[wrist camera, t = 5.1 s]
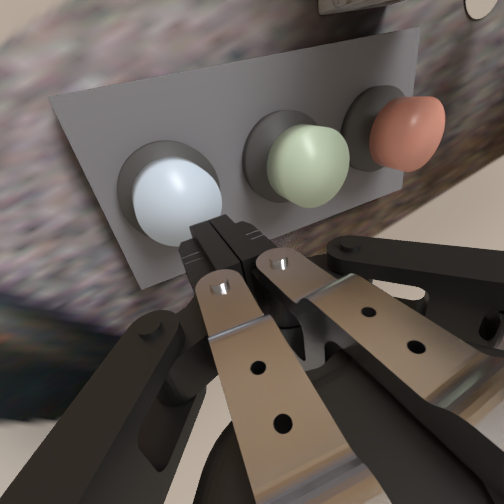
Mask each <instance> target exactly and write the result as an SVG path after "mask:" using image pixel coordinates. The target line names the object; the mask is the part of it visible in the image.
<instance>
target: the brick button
mask: <svg viewBox="0 0 504 504" xmlns="http://www.w3.org/2000/svg"><path fill="white" fill-rule="evenodd" d="M444 127H445V112H444V108H443V105H442V103H441V102H440V101H439V100H438V99H437V98H435V97H397V98H394V99H393V100H391V101H390V102H388V103H387V104H386V105H385V106H384V107H383V108H382V109H381V111H380V112H379V113H378V115H377V117H376V119H375V121H374V123H373V126H372V129H371V132H370V139H369V148H370V153H371V156H372V158H373V160H374V161H375V162H376V163H377V164H378V165H380V166H384V167H388V168H392V169H396V170H400V171H404V172H412V171H415V170H417V169H419V168H421V167H422V166H423V165H425V164H426V163H427V162H428V161H429V159H430V158H431V157H432V156H433V154H434V153H435V151H436V149H437V148H438V146H439V143H440V141H441V139H442V135H443V132H444Z"/></svg>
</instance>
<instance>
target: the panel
mask: <svg viewBox="0 0 504 504" xmlns="http://www.w3.org/2000/svg"><path fill="white" fill-rule="evenodd" d="M420 31H421V26H420V27H415V28H409V29H404V30H399V31H394V32H388V33H383V34H378V35H372V36H367V37H362V38H357V39H351V40H346V41H341V42H336V43H330V44H325V45H320V46H315V47H309V48H304V49H299V50H293V51H288V52H283V53H278V54H272V55H267V56H262V57H257V58H251V59H246V60H241V61H235V62H230V63H225V64H220V65H214V66H209V67H204V68H199V69H193V70H188V71H183V72H178V73H172V74H167V75H162V76H156V77H151V78H146V79H141V80H135V81H130V82H125V83H120V84H114V85H109V86H104V87H99V88H93V89H88V90H83V91H77V92H72V93H67V94H62V95H56V96H51V97H48V99H49V101H50V103H51V105H52V108H53V110H54V112H55V114H56V116H57V118H58V120H59V122H60V124H61V126H62V128H63V130H64V132H65V134H66V136H67V138H68V140H69V142H70V144H71V147H72V149H73V151H74V153H75V155H76V157H77V159H78V161H79V163H80V165H81V167H82V169H83V171H84V173H85V175H86V177H87V179H88V181H89V183H90V186H91V188H92V190H93V192H94V194H95V196H96V198H97V200H98V202H99V204H100V206H101V208H102V210H103V212H104V214H105V216H106V218H107V220H108V222H109V225H110V227H111V229H112V231H113V233H114V235H115V237H116V239H117V241H118V243H119V245H120V247H121V249H122V251H123V253H124V255H125V257H126V259H127V261H128V264H129V266H130V268H131V270H132V272H133V274H134V276H135V278H136V280H137V282H138V284H139V286H140V288H141V290H143V289H146V288H148V287H151V286H153V285H156V284H158V283H161V282H164V281H166V280H169V279H171V278H174V277H176V276H179V275H182V274H184V273H186V271H185V268H184V265H183V263H182V260H181V257H180V254H179V252H178V249H179V247H176V246H168V245H164V244H161V243H159V242H157V241H155V240H153V239H152V238H150V237H149V236H148V235H147V234H146V233H145V232H144V231H143V229H142V228H141V226H140V225H139V223H138V220H137V217H136V214H135V210H134V207H133V203H132V187H133V183H134V180H135V178H136V176H137V175H138V173H139V172H140V171H141V169H142V168H143V167H144V166H146V165H147V164H148V163H150V162H151V161H153V160H155V159H158V158H162V157H168V156H175V157H181V158H185V159H187V160H189V161H191V162H193V163H195V164H196V165H197V166H199V167H200V168H202V169H203V170H204V171H206V172H207V173H208V174H209V175H210V176H211V177H212V178H213V179H214V180H215V182H216V184H217V185H218V187H219V190H220V193H221V197H222V210H221V215H224V214H226V215H227V216H228V217H229V218H230V219H231V220H232V221H233V222H234V223H237V222H240V221H244V222H247V223H250V224H252V225H253V226H255V227H256V228H257V229H258V231H260V232H261V233H262V234H263V235H265V236H266V237H267V238H268V239H269V240H271V239H274V238H277V237H279V236H282V235H284V234H287V233H289V232H292V231H295V230H297V229H300V228H302V227H305V226H307V225H310V224H313V223H315V222H318V221H320V220H323V219H325V218H328V217H331V216H333V215H336V214H338V213H341V212H343V211H346V210H349V209H351V208H354V207H356V206H359V205H361V204H364V203H366V202H369V201H372V200H374V199H377V198H379V197H382V196H384V195H387V194H390V193H392V192H395V191H397V190H400V189H402V183H403V174H404V171H400V170H396V169H392V168H388V167H384V166H380V165H378V164H377V163H376V162H375V161H374V160H373V158H372V156H371V153H370V148H369V139H370V132H371V129H372V126H373V123H374V121H375V119H376V117H377V115H378V113H379V112H380V111H381V109H382V108H383V107H384V106H385V105H386V104H387V103H388V102H390V101H391V100H393V99H394V98H397V97H413V90H414V81H415V73H416V64H417V56H418V48H419V39H420ZM299 124H307V125H314V126H322V127H329V128H332V129H334V130H336V131H338V132H339V133H340V134H341V135H342V136H343V138H344V139H345V141H346V143H347V146H348V149H349V158H350V160H349V169H348V173H347V176H346V179H345V181H344V183H343V185H342V187H341V188H340V190H339V191H338V193H337V194H336V195H335V196H334V197H333V198H332V199H331V200H329V201H328V202H327V203H325V204H323V205H321V206H319V207H315V208H303V207H300V206H298V205H296V204H295V203H293V202H291V201H289V200H287V199H286V198H284V197H282V196H280V195H279V194H277V193H276V192H275V191H274V189H273V188H272V187H271V185H270V183H269V180H268V176H267V159H268V155H269V152H270V149H271V147H272V145H273V143H274V142H275V140H276V139H277V138H278V137H279V135H280V134H281V133H283V132H284V131H285V130H286V129H288V128H290V127H292V126H295V125H299ZM221 215H220V216H221Z"/></svg>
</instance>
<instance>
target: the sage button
mask: <svg viewBox="0 0 504 504" xmlns="http://www.w3.org/2000/svg"><path fill="white" fill-rule="evenodd" d="M349 160H350V158H349V149H348V146H347V143H346V141H345V139H344V138H343V136H342V135H341V134H340V133H339V132H338V131H336V130H334V129H332V128H329V127H322V126H314V125H307V124H299V125H295V126H292V127H290V128H288V129H286V130H285V131H284V132H283V133H281V134H280V135H279V137H278V138H277V139H276V140H275V142H274V143H273V145H272V147H271V149H270V152H269V155H268V159H267V176H268V180H269V183H270V185H271V187H272V188H273V189H274V191H275V192H276V193H277V194H279V195H280V196H282V197H284V198H286V199H287V200H289V201H291V202H293V203H295V204H296V205H298V206H300V207H303V208H315V207H319V206H321V205H323V204H325V203H327V202H328V201H329V200H331V199H332V198H333V197H334V196H335V195H336V194H337V193H338V191H339V190H340V188H341V187H342V185H343V183H344V181H345V179H346V176H347V173H348V169H349Z"/></svg>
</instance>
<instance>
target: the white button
mask: <svg viewBox="0 0 504 504" xmlns="http://www.w3.org/2000/svg"><path fill="white" fill-rule="evenodd" d="M132 203H133V207H134V210H135V214H136V217H137V220H138V223H139V225H140V226H141V228H142V229H143V231H144V232H145V233H146V234H147V235H148V236H149V237H150V238H152V239H153V240H155V241H157V242H159V243H161V244H164V245H168V246H176V247H179V246H180V243H181V242H183V241H186V240H189V239H192V235H191V232H190V229H189V226H191V225H194V224H197V223H200V222H203V221H206V220H207V221H208V220H209V219H212V218H215V217H218V216H220V215H221V210H222V197H221V193H220V190H219V187H218V185H217V184H216V182H215V180H214V179H213V178H212V177H211V176H210V175H209V174H208V173H207V172H206V171H204V170H203V169H202V168H200V167H199V166H197V165H196V164H195V163H193V162H191V161H189V160H187V159H185V158H181V157H175V156H168V157H162V158H158V159H155V160H153V161H151V162H150V163H148V164H147V165H146V166H144V167H143V168H142V169H141V171H140V172H139V173H138V175H137V176H136V178H135V180H134V183H133V187H132Z"/></svg>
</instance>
